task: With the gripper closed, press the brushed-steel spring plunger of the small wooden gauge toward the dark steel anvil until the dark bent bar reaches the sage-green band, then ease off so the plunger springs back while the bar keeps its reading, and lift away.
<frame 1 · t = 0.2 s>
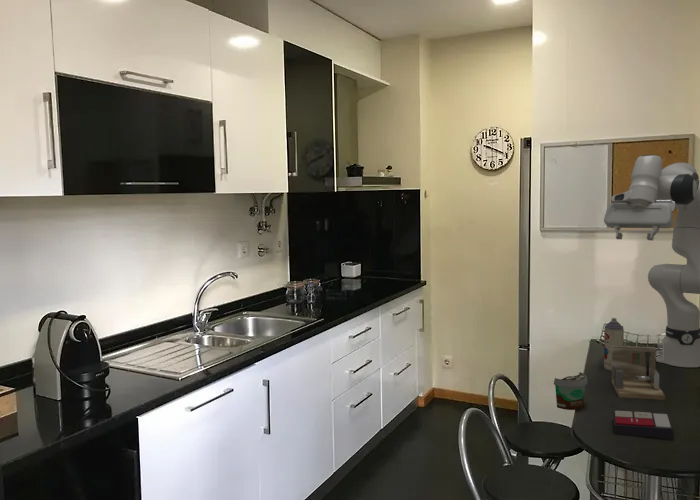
hand: (633, 239, 189), 54 cm above the table, tool tilted 30°, fingers open, 8 cm apart
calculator: (641, 431, 173), on the table
dark bent bar: (648, 367, 207), point 7 cm above the table, slide at 0.0 cm
plunger: (645, 377, 205), point 4 cm above the table, slide at 0.0 cm
food container: (574, 408, 192), on the table
gauge frame: (637, 390, 205), on the table
aerosol can: (613, 369, 229), on the table
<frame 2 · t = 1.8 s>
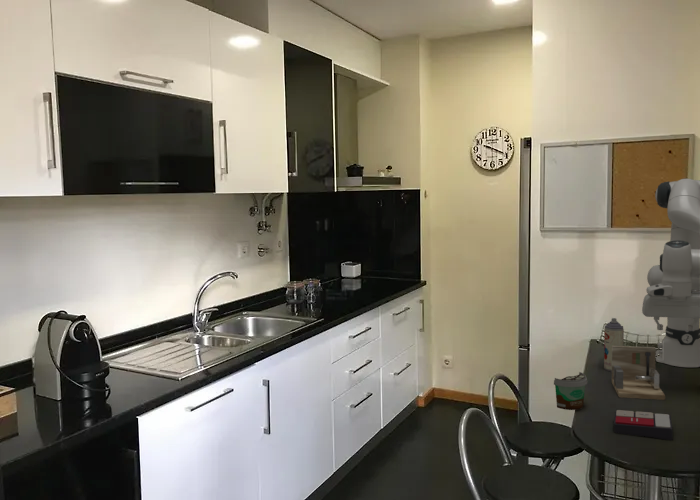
hand: (675, 330, 199), 22 cm above the table, tool pointing down, fingers open, 8 cm apart
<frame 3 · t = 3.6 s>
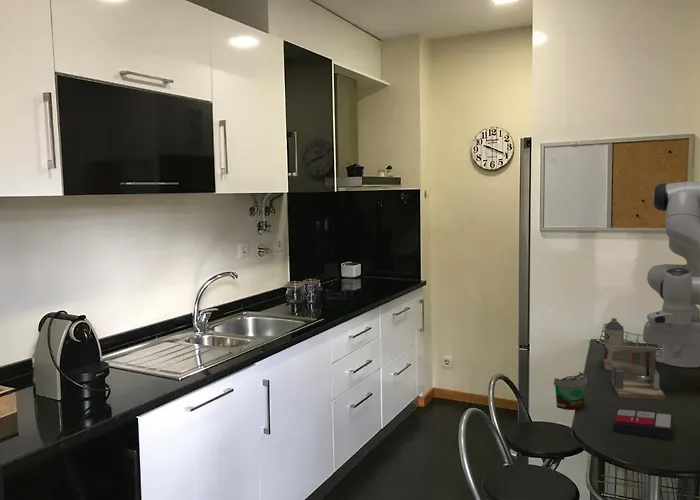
hand: (676, 357, 200), 12 cm above the table, tool pointing down, fingers closed
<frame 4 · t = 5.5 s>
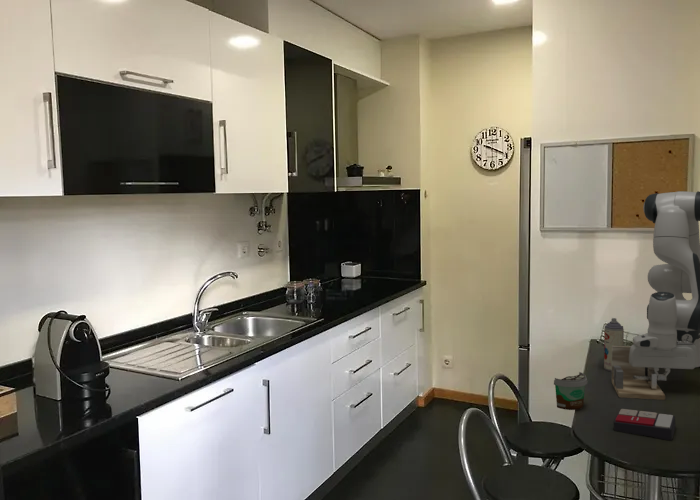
hand: (661, 380, 202), 4 cm above the table, tool pointing down, fingers closed
dark bent bar: (647, 367, 208), point 7 cm above the table, slide at 0.5 cm, touching plunger
plunger: (643, 377, 205), point 4 cm above the table, slide at 0.8 cm, touching gripper, dark bent bar
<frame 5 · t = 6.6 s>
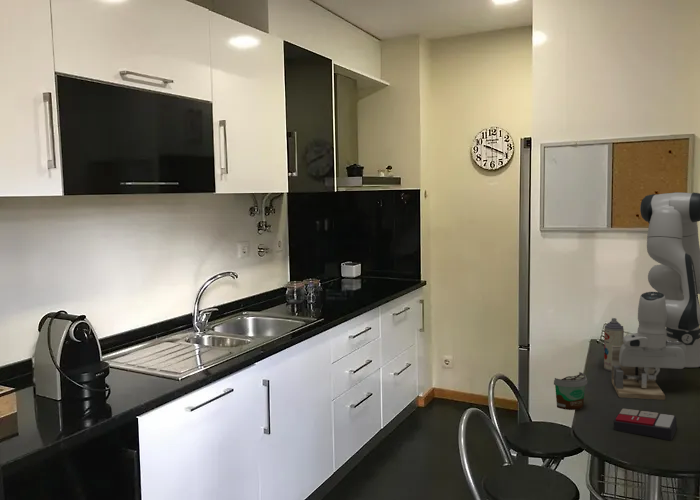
hand: (651, 379, 203), 4 cm above the table, tool pointing down, fingers closed
dark bent bar: (637, 366, 208), point 7 cm above the table, slide at 3.6 cm, touching plunger
plunger: (633, 376, 206), point 4 cm above the table, slide at 3.9 cm, touching gripper, dark bent bar
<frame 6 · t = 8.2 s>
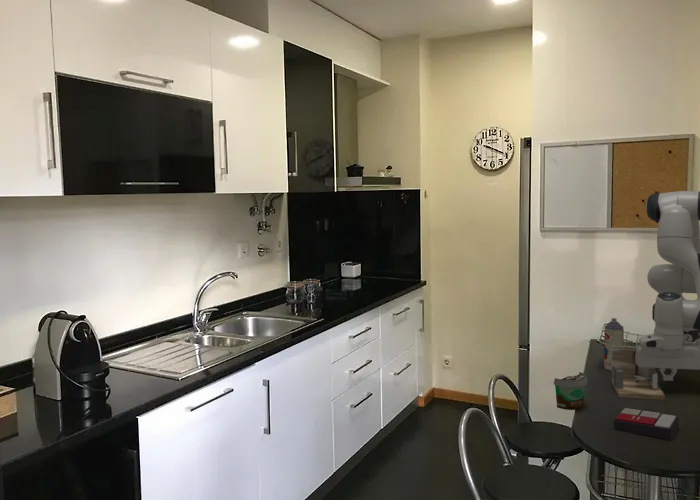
hand: (667, 380, 202), 4 cm above the table, tool pointing down, fingers closed
dark bent bar: (637, 366, 208), point 7 cm above the table, slide at 3.6 cm
plunger: (643, 377, 205), point 4 cm above the table, slide at 0.5 cm
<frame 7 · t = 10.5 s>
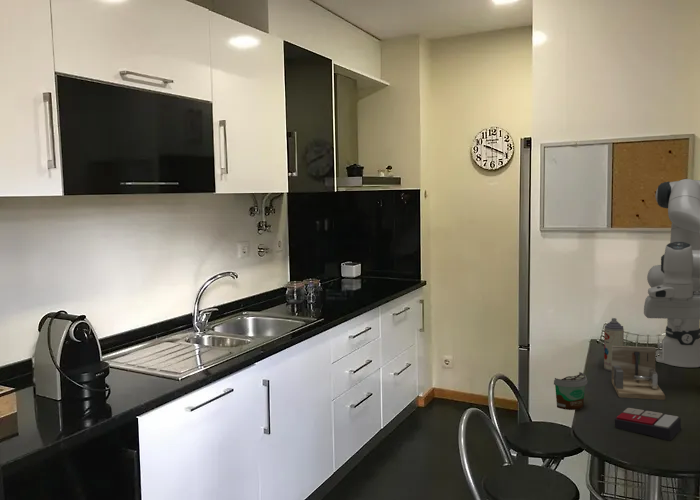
hand: (677, 331, 200), 21 cm above the table, tool pointing down, fingers closed
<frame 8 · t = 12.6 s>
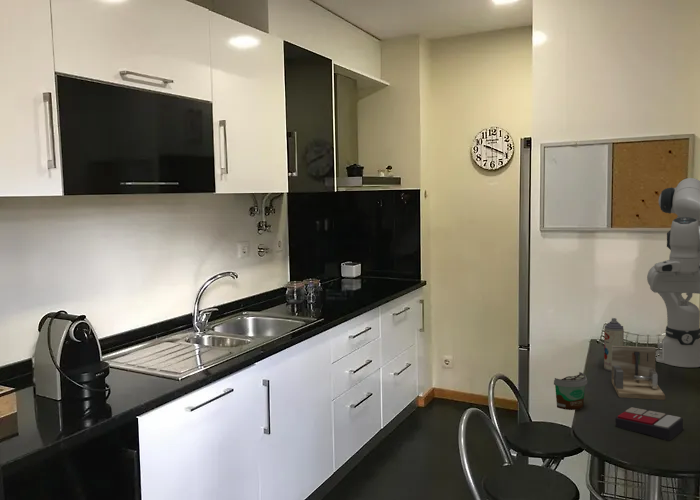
hand: (683, 305, 202), 29 cm above the table, tool pointing down, fingers closed
at the end: dark bent bar slide at 3.6 cm; plunger slide at 0.5 cm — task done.
